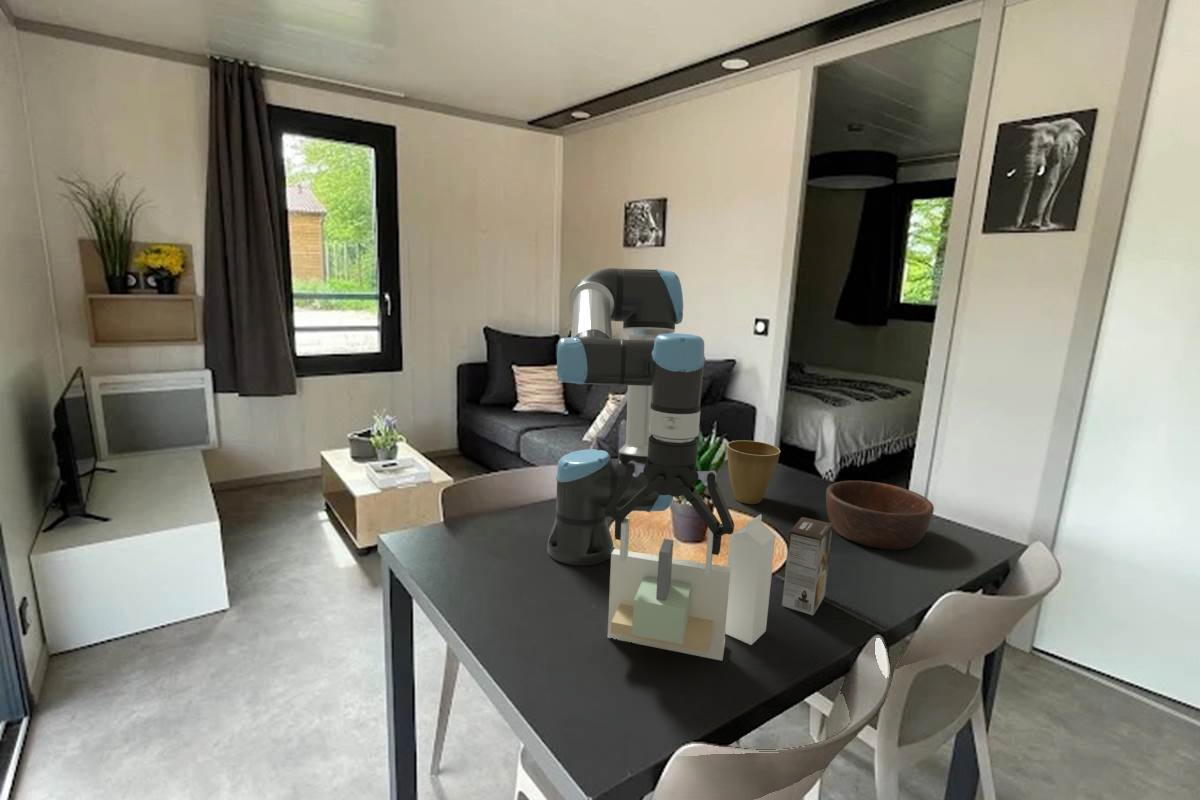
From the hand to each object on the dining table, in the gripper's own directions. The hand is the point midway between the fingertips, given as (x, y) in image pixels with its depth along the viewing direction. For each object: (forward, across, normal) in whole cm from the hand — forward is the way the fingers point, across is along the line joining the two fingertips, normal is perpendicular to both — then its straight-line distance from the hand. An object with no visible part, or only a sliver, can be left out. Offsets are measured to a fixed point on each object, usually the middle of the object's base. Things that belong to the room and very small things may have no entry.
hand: (665, 565), depth 96 cm
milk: (+18, +13, +14) cm, 26 cm away
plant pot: (+18, +11, +84) cm, 87 cm away
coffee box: (+18, +24, +29) cm, 42 cm away
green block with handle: (+11, 0, 0) cm, 11 cm away
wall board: (+18, 0, +4) cm, 18 cm away
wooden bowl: (+18, +43, +71) cm, 85 cm away
